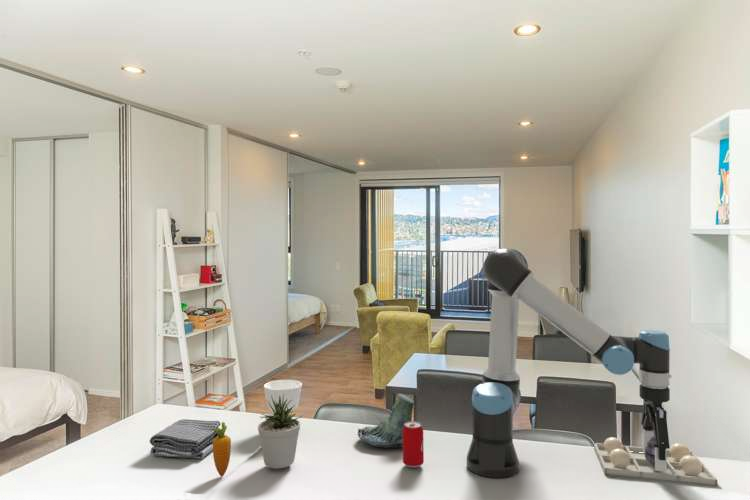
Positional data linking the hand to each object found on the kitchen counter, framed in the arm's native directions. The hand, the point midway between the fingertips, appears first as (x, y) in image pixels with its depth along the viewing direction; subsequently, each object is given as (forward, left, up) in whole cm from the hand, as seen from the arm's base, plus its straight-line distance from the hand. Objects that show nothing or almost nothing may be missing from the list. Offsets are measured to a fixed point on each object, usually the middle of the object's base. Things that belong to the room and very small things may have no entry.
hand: (654, 461), depth 141 cm
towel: (-141, -20, -4) cm, 142 cm away
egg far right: (+9, +9, -3) cm, 13 cm away
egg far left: (-9, +9, -3) cm, 13 cm away
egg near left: (-9, 0, -3) cm, 10 cm away
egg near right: (+9, 0, -3) cm, 10 cm away
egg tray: (0, +4, -3) cm, 6 cm away
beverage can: (-68, -12, -4) cm, 69 cm away
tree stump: (-82, +6, -6) cm, 82 cm away
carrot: (-119, -34, -4) cm, 124 cm away
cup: (-119, +5, -4) cm, 119 cm away
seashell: (0, 0, -3) cm, 3 cm away
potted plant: (-107, -21, -4) cm, 109 cm away
